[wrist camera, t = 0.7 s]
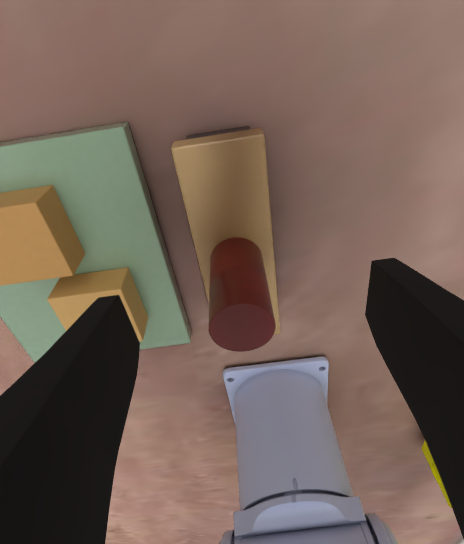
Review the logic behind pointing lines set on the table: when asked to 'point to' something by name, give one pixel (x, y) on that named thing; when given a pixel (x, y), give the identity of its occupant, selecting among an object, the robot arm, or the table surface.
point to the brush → (231, 232)
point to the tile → (93, 230)
